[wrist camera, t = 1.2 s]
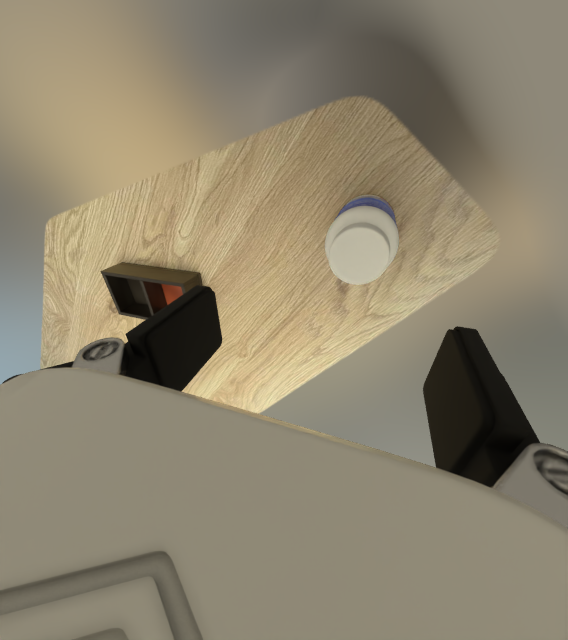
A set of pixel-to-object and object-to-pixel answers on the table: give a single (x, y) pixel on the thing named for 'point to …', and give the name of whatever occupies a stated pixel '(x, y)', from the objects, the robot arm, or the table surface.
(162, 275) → the brown wooden tray
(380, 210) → the pill bottle
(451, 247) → the table surface
